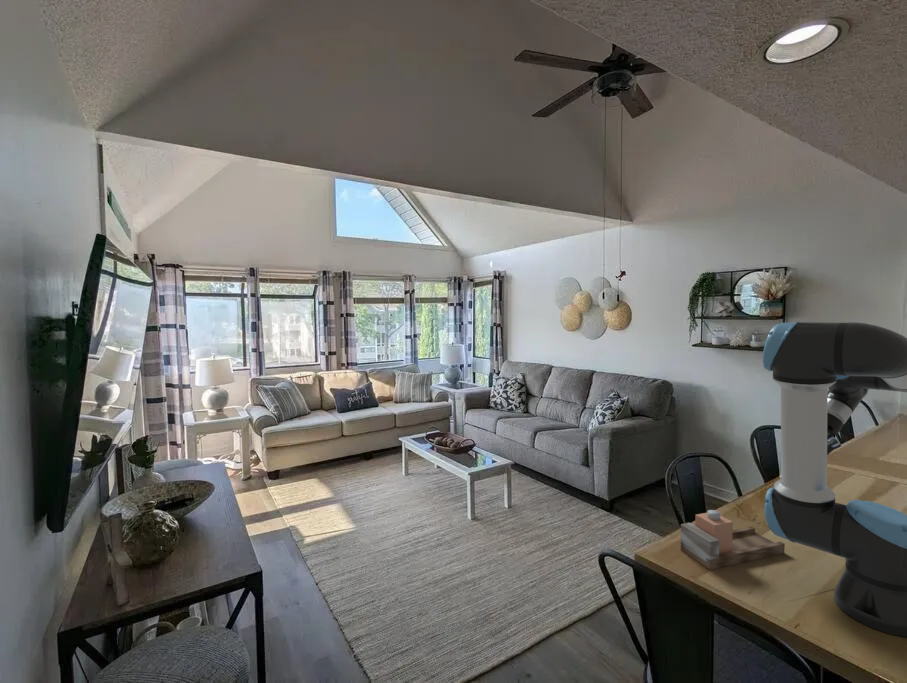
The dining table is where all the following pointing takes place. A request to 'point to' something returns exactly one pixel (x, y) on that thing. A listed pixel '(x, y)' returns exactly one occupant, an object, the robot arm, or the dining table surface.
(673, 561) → the dining table surface
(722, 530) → the block
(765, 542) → the track
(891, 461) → the dining table surface
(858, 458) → the dining table surface
